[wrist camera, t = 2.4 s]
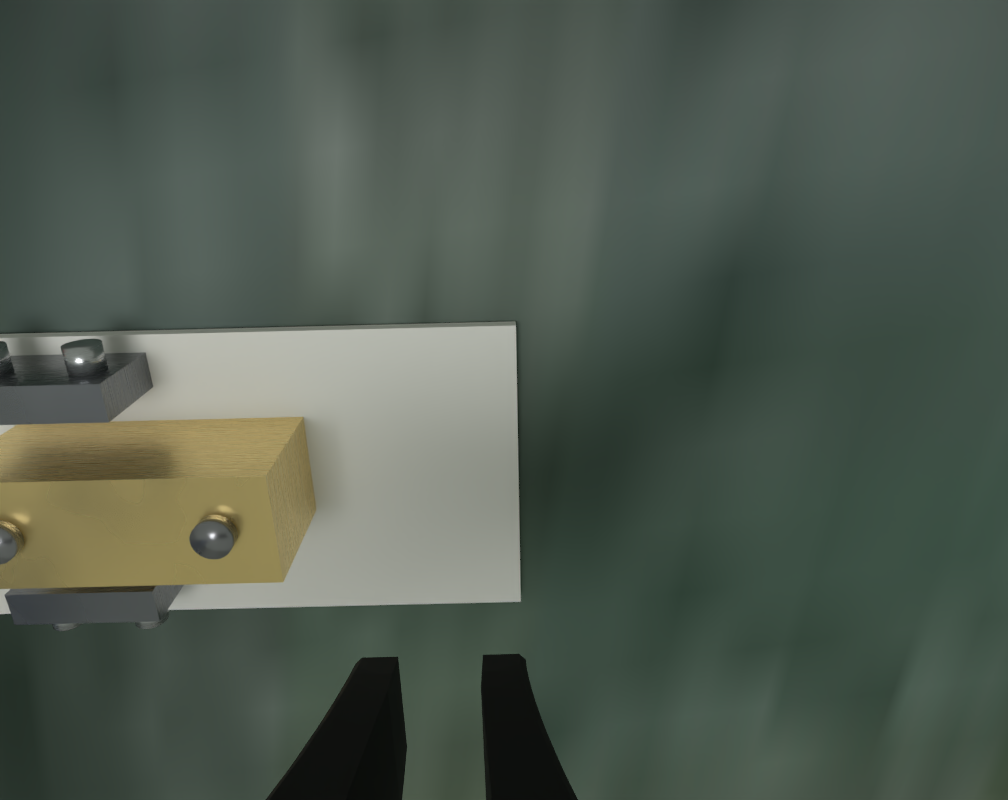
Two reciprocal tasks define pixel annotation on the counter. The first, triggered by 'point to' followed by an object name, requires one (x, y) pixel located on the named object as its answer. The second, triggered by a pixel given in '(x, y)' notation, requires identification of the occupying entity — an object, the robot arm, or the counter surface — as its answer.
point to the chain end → (78, 399)
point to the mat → (358, 450)
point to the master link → (153, 502)
